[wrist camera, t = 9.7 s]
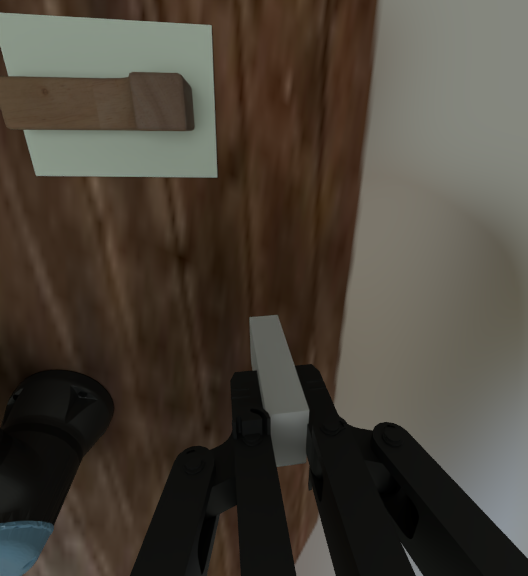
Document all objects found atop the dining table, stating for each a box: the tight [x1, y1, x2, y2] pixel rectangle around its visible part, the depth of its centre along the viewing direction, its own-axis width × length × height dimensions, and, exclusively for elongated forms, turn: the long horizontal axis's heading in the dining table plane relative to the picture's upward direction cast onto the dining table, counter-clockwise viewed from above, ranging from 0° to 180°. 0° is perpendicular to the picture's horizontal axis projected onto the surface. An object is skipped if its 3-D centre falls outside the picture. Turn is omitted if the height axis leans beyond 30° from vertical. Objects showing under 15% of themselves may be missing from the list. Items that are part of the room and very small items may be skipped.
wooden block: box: [0, 72, 195, 131], centre depth 31 cm, size 9×4×18 cm
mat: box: [0, 13, 217, 177], centre depth 36 cm, size 21×15×1 cm
